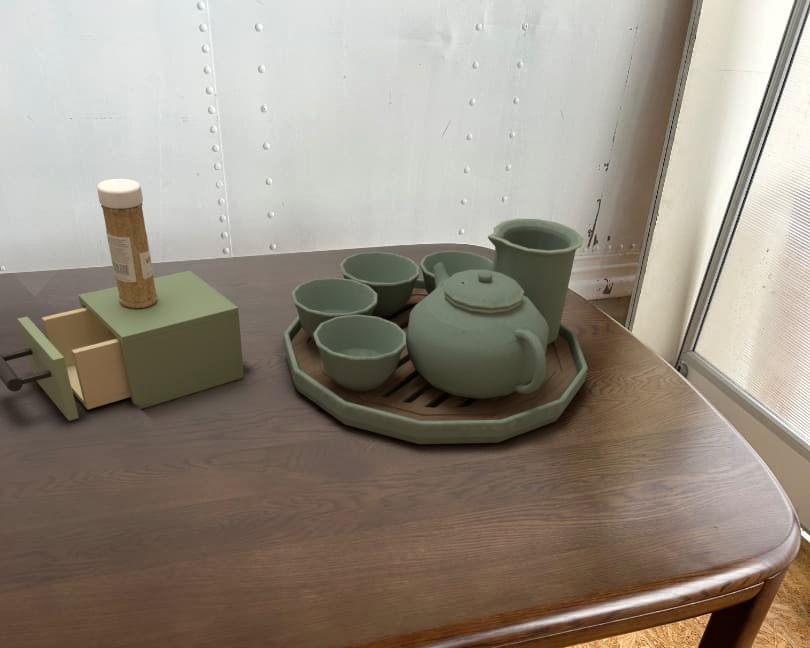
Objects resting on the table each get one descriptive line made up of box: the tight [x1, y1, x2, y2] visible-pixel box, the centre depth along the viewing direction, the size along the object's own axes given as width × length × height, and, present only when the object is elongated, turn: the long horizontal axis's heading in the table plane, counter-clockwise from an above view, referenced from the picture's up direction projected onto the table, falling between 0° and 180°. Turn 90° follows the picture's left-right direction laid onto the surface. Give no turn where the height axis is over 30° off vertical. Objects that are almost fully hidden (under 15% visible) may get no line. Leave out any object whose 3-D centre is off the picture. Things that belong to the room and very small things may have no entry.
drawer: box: [0, 307, 131, 421], centre depth 92 cm, size 18×11×8 cm, turn 128°
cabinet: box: [78, 270, 245, 410], centre depth 98 cm, size 15×13×10 cm
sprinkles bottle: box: [96, 178, 158, 308], centre depth 90 cm, size 5×5×13 cm
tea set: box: [282, 218, 589, 445], centre depth 101 cm, size 40×40×16 cm
